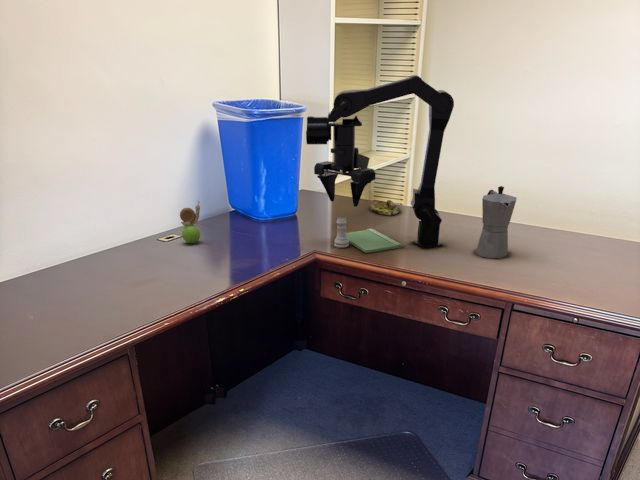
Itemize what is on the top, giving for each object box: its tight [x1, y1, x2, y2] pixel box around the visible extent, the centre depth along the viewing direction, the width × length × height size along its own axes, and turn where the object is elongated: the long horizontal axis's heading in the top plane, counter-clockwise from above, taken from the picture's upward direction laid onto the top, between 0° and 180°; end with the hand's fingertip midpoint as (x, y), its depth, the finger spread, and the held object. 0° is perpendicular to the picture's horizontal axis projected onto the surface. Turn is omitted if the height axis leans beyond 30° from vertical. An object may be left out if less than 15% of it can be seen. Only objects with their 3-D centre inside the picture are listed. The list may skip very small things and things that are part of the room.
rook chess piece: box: [333, 216, 350, 249], centre depth 174 cm, size 4×4×8 cm
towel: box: [346, 227, 403, 254], centre depth 179 cm, size 18×12×1 cm, turn 24°
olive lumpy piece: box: [370, 199, 400, 216], centre depth 208 cm, size 9×5×15 cm
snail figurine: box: [179, 200, 201, 244], centre depth 177 cm, size 5×6×12 cm
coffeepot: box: [475, 185, 518, 259], centre depth 164 cm, size 15×9×18 cm, turn 4°
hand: (343, 203), depth 171 cm, fingers open, 9 cm apart
